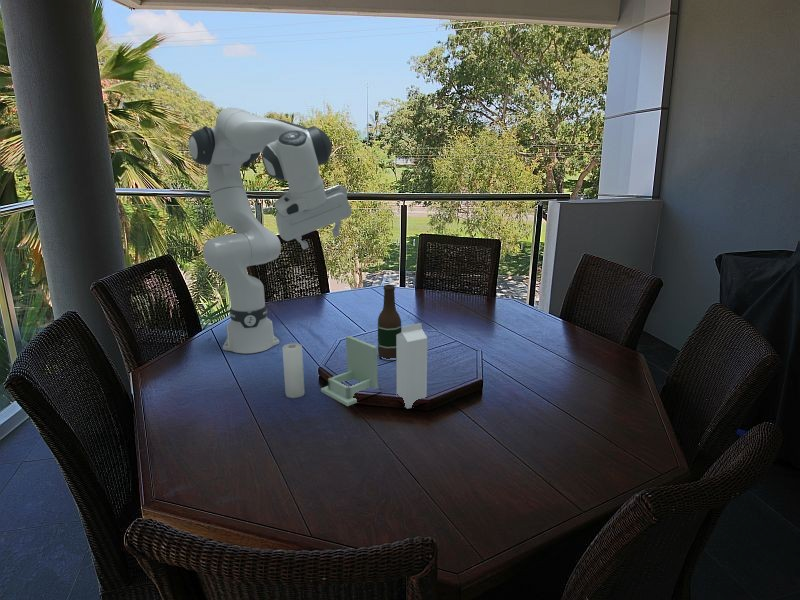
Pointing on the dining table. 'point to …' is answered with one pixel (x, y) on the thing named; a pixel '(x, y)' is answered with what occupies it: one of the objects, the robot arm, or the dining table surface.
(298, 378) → the roll
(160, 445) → the dining table surface
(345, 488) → the dining table surface
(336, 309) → the dining table surface
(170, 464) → the dining table surface
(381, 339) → the beer bottle
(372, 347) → the holder
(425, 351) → the milk
